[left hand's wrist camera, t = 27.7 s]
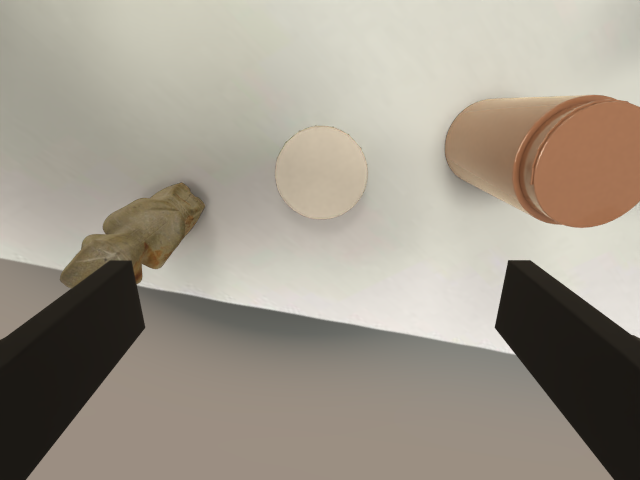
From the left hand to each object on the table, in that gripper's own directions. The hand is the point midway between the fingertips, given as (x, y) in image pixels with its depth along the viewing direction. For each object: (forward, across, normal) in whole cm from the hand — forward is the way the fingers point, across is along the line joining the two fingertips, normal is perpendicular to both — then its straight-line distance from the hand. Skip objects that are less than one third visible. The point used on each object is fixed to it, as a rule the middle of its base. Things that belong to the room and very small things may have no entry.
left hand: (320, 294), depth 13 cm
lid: (+24, 0, 0) cm, 25 cm away
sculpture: (+26, -15, -4) cm, 31 cm away
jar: (+26, +17, +3) cm, 31 cm away
